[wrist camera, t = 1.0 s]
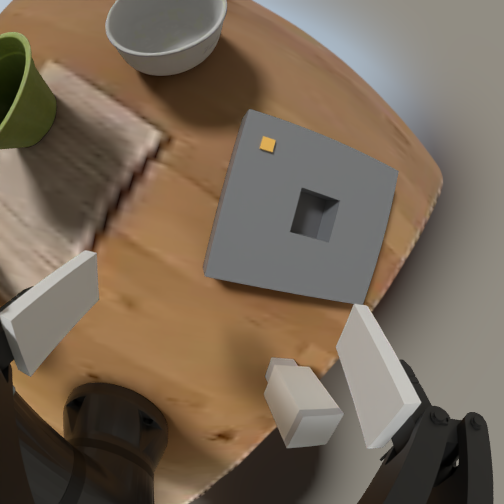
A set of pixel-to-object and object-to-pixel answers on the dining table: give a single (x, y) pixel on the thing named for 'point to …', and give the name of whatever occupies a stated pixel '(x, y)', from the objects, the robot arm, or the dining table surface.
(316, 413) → the plug
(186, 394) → the dining table surface
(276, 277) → the plate
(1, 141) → the plant pot
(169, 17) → the teacup
